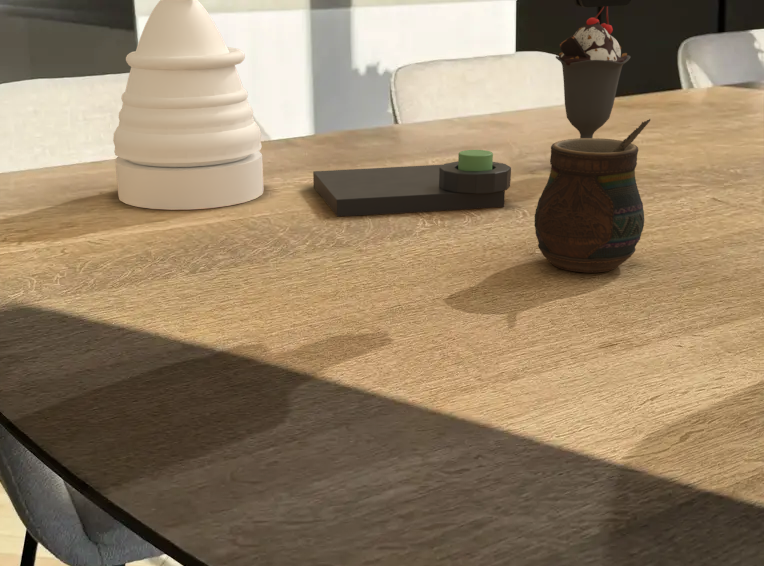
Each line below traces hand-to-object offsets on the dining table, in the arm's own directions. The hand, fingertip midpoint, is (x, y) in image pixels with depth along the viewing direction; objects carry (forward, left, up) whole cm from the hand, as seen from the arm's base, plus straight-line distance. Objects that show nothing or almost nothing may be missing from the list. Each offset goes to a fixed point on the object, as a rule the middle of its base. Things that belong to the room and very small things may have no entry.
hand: (601, 4), depth 70 cm
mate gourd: (0, +2, -17) cm, 17 cm away
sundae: (-12, -29, -17) cm, 36 cm away
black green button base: (+7, -22, -16) cm, 29 cm away
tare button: (+2, -18, -14) cm, 23 cm away
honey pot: (+25, -28, -17) cm, 41 cm away
